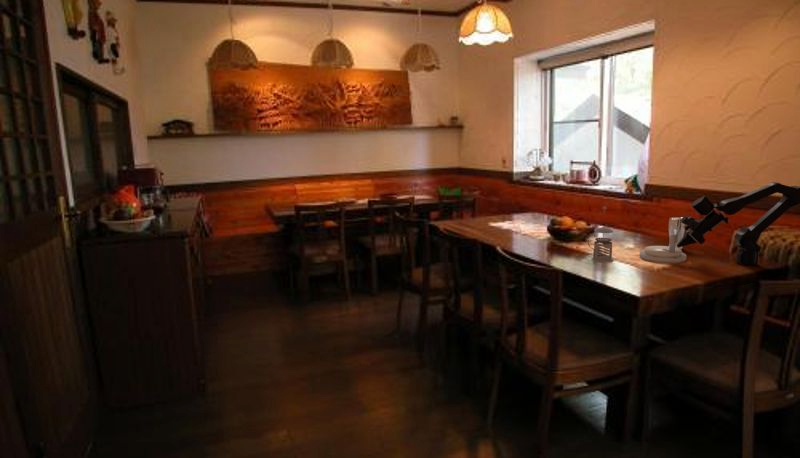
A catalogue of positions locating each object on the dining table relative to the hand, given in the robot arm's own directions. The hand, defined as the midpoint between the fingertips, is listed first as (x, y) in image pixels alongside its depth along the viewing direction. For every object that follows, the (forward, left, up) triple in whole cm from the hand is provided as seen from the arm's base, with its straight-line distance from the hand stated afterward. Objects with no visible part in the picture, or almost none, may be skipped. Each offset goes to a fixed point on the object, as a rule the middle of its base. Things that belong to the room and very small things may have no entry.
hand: (677, 246), depth 217 cm
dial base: (+4, -6, -7) cm, 10 cm away
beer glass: (-10, -26, -7) cm, 29 cm away
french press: (+32, -4, -7) cm, 33 cm away
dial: (+4, -6, -5) cm, 9 cm away
